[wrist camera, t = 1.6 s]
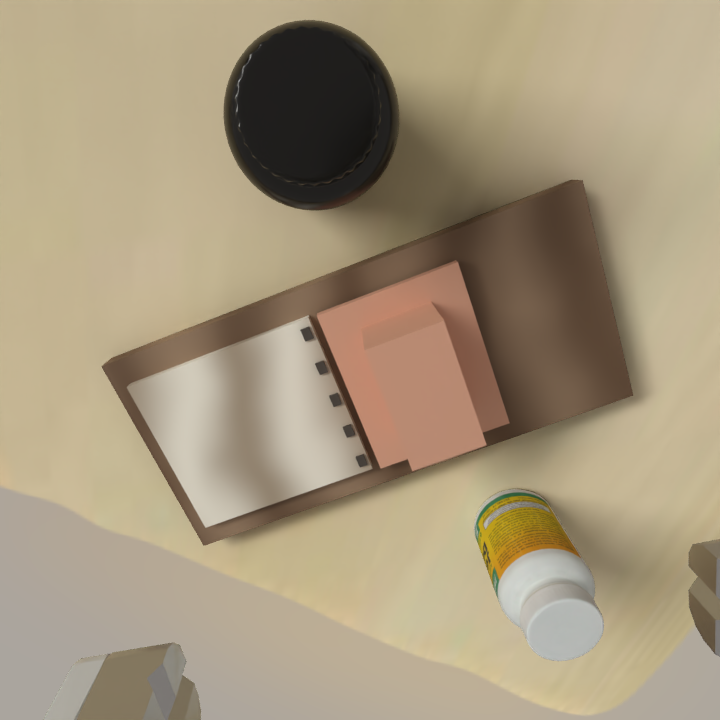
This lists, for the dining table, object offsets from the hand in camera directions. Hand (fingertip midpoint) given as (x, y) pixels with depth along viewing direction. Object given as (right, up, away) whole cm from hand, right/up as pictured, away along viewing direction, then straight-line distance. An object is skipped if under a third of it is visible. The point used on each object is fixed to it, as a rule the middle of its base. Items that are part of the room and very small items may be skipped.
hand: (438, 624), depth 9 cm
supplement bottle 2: (+9, -7, +29) cm, 31 cm away
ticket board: (0, +3, +25) cm, 25 cm away
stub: (+2, +4, +23) cm, 23 cm away
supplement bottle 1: (-3, +16, +21) cm, 26 cm away
